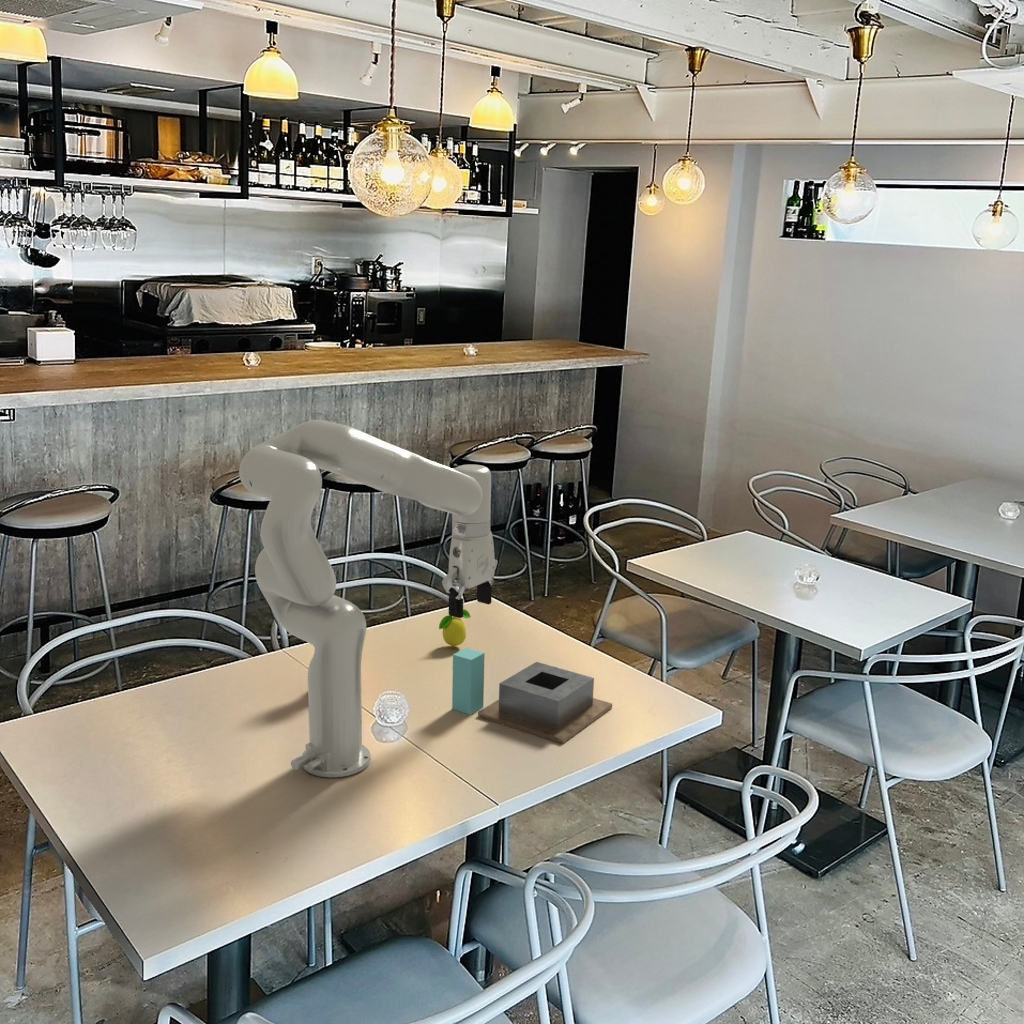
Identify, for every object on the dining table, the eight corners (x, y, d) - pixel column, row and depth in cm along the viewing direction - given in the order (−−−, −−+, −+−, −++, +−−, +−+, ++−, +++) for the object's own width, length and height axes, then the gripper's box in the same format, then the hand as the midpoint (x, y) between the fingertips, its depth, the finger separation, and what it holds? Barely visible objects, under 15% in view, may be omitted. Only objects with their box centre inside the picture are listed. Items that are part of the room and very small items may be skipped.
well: (562, 744, 204) (564, 710, 203) (478, 716, 215) (478, 684, 213) (612, 708, 220) (613, 676, 219) (531, 684, 231) (532, 654, 229)
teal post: (470, 714, 216) (471, 659, 213) (452, 709, 218) (452, 654, 215) (483, 707, 219) (484, 653, 216) (465, 701, 222) (466, 647, 219)
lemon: (470, 643, 253) (470, 603, 251) (466, 652, 247) (467, 612, 245) (442, 641, 254) (442, 602, 251) (438, 650, 248) (438, 610, 245)
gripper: (460, 541, 200) (459, 626, 204) (511, 521, 214) (509, 601, 218) (429, 534, 204) (429, 617, 208) (480, 515, 218) (479, 594, 222)
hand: (470, 609), depth 213 cm, fingers open, 9 cm apart
